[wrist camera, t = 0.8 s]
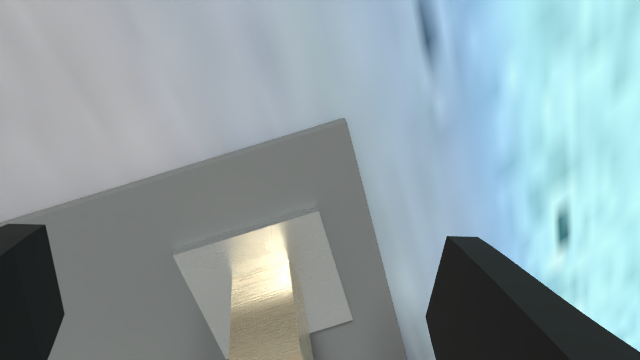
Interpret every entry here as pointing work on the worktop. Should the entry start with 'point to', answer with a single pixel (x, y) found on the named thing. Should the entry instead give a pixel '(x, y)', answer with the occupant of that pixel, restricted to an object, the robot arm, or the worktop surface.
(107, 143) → the worktop surface
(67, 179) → the worktop surface
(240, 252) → the beige blocky piece
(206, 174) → the mat
